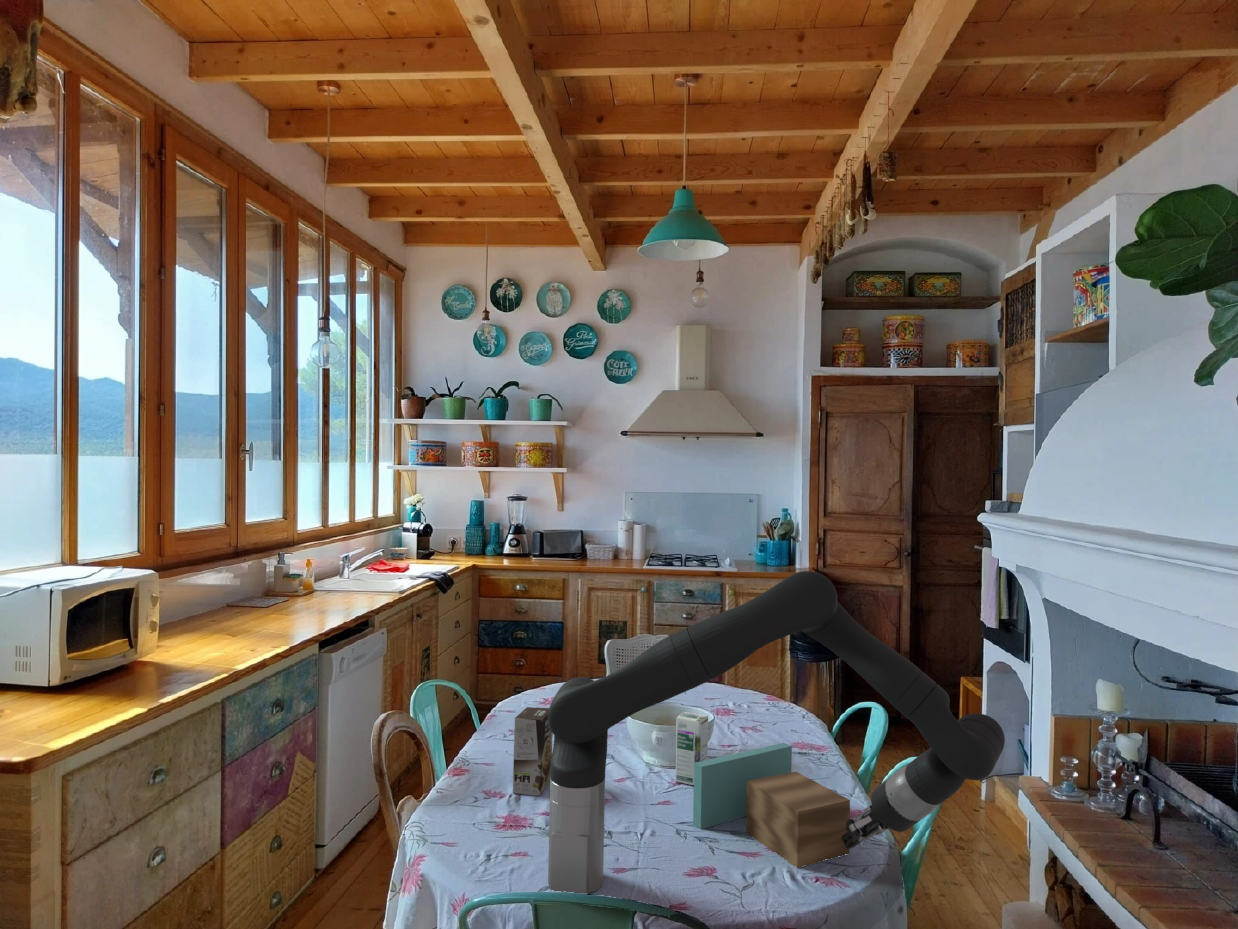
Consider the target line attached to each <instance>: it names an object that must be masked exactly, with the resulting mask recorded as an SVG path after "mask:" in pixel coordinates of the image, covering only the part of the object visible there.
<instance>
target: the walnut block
mask: <svg viewBox="0 0 1238 929" xmlns="http://www.w3.org/2000/svg"><path fill="white" fill-rule="evenodd" d="M850 814H851V799H849V798H847V797H845V796H843V795H841V794H839V793H838V792H835V791H833V790H832V789H830V788H827V787H826V786H825V785H822V784H820V783H819V782H816V781H815V780H813V779H811V778H809V777H807V776H805V775H804V774H801V773H800V772H798V771H793V772H792V771H791V773H786V774H781V775H776V776H771V777H766V778H760V779H755V780H750V781H747V808H746V817H745V818H746V819H745V825H746V826H745V833H746V834H748V836H750V837H751V838H753V839H754V840H755V841H757V842H759V843H760V844H761V845H763V846H764V847H766V846H767V847H768V848H767V847H766V848H767V849H768V850H770V849H771V850H770V851H772V852H773V853H774V852H776V853H777V854H778V856H779V855H780V856H781V857H780V856H779V857H780V858H782V857H783V858H784V859H783V858H782V859H783V860H785V859H786V860H787V861H788V862H787V861H786V860H785V861H786V862H787V863H789V864H790V863H791V864H790V865H792V866H793V865H794V866H793V867H795V866H796V867H797V868H796V867H795V868H796V869H800V868H803V867H802V866H804V865H808V866H811V865H810V864H812V865H814V863H815V864H818V863H817V862H819V861H823V860H825V859H831V858H834V859H836V858H835V857H838V856H842V855H845V854H849V855H850V849H847V848H846V846H845V845H844V843H843V841H842V838H841V837H842V836H843V835H844V834H845V833H847V832H848V831H847V830H846V822H847V821H848V819H851V817H850V816H851V815H850ZM776 853H775V854H776ZM777 854H776V855H777ZM842 857H843V856H842ZM838 858H839V857H838ZM831 860H832V859H831ZM823 862H824V861H823ZM819 863H820V862H819ZM799 867H800V868H799ZM804 867H805V866H804Z"/></svg>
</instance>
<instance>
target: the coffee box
mask: <svg viewBox="0 0 1238 929" xmlns="http://www.w3.org/2000/svg"><path fill="white" fill-rule="evenodd" d="M549 708H550V707H529V706H527V707H526V708H524V709H523V710H522V711H521V712H520V713H518V715H516V716H515V717H514V732H513V734H514V736H513V765H512V766H513V769H512V770H513V771H512V793H513V794H518V795H519V794H520V795H527V796H536V797H539V796H541V794H543V792H544V791H545V789H547V787H548V786H549V785H550V766H551V759H552V753H553V738H554V734H553V733H552V731H551V730H550V727H549V723H548V713H549Z"/></svg>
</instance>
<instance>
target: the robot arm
mask: <svg viewBox="0 0 1238 929" xmlns="http://www.w3.org/2000/svg"><path fill="white" fill-rule="evenodd" d="M799 632H802V633H803V634H805V635H807V636H809V637H810V638H811V639H814V640H815V641H816V642H817V643H820V644H821V645H823V646H824V647H826V648H827V649H828V650H830V651H831V652H833V653H834V654H835V655H836V656H837V657H839V658H840V659H842V661H843V662H845V663H846V664H847V665H848V666H849V667H850V668H852V669H853V671H855V672H856V673H857V674H858V675H859V676H860V677H861V678H863V680H865V681H866V683H868V684H869V685H870V686H871V687H872V688H873V689H874V690H875V691H876V692H878V694H879V695H880V696H882V697H883V699H885V700H886V701H887V702H888V703H890V705H892V706H893V707H894V708H895V709H896V710H898V712H899V713H900V714H902V716H904V717H905V718H906V719H908V720H909V721H910V722H911V723H912V724H914V725H915V727H916V728H917V730H918V732H920V734H921V736H922V738H923V739H924V740H925V741H926V743H927V745H929V748H928V749H927V750H925V751H924V752H922V753H920V755H918V756H916V757H915V758H913V760H912V761H911V762H909V763H908V764H907V765H904V766H903V767H901V768H899V769H898V770H896V771H895V772H894V773H893V774H892V775H890V776H889V777H887V779H885V780H884V781H883V782H881V783H880V784H879V785H877V786H876V787H875V788H874V789H873V791H872V792H871V795H870V796H871V797H870V801H871V805H869V806H867V807H865V809H863V812H862V813H861V814H860V815H859V816H857V817H856V818H850V819H848V821H847V822H846V830H847V831H848V832H847V833H845V834H844V835H843V836H842V837H841V838H842V841H843V843H844V845H845V846H846V848H847V849H849V850H850V849H853V848H855V847H856V846H858V845H860V844H861V843H862V842H863V841H864V840H868V839H871V838H873V837H874V836H879V835H881V834H882V833H884V832H885V831H886V830H891V831H894V832H898V833H901V832H902V833H903V832H906V831H908V830H909V829H911V828H912V827H914V826H915V825H916V824H918V823H919V822H920V821H921V820H923V819H924V818H927V816H929V815H931V814H932V813H933V812H934V811H935V810H936V809H937V808H938V807H939V806H940V805H941V804H942V803H944V802H945V801H947V800H948V799H950V798H951V797H952V796H954V795H955V794H956V793H957V792H958V791H959V790H960V789H961V787H962V786H963V785H964V783H965V781H966V780H970V781H982V780H984V779H986V778H987V777H988V776H989V775H990V774H991V773H992V772H993V770H994V768H995V767H996V764H997V762H998V760H999V758H1000V757H1001V755H1002V752H1003V750H1004V748H1005V742H1006V739H1005V738H1006V737H1005V733H1004V730H1003V728H1002V726H1001V725H1000V723H999V722H998V721H997V720H995V719H994V718H993V717H991V716H989V715H987V714H984V713H969V714H966V715H964V716H962V717H960V718H959V719H957V718H956V717H955V716H954V714H953V713H952V712H951V708H950V704H951V703H950V702H951V698H950V695H949V693H948V692H947V691H946V690H945V689H944V688H943V687H942V686H940V685H939V684H938V683H937V682H936V681H934V680H933V679H932V678H931V677H930V676H928V674H926V673H925V672H924V671H922V670H921V669H920V668H919V667H918V666H917V665H916V664H914V663H913V662H912V661H910V660H909V659H908V658H906V657H905V656H903V655H902V654H901V653H899V652H897V651H896V650H895V649H893V648H891V647H890V646H889V645H887V644H886V643H885V642H883V641H882V640H880V638H877V637H876V636H875V635H873V634H872V633H871V632H870V631H868V630H867V629H865V627H863V626H862V625H861V624H860V623H858V622H857V621H856V620H855V619H854V617H852V615H851V614H849V612H848V611H847V610H846V609H845V608H844V607H843V606H842V605H841V603H840V602H839V601H838V593H837V590H836V587H835V585H834V583H832V581H831V579H829V578H828V577H827V576H825V575H824V574H822V573H820V572H816V571H813V570H804V571H803V570H802V571H798V572H795V573H793V574H791V575H789V576H788V577H786V578H785V579H783V580H782V581H780V582H778V583H777V584H775V585H774V586H772V587H771V588H769V589H767V590H766V591H764V592H762V593H760V594H759V595H757V596H755V597H754V598H752V599H750V600H749V601H747V602H745V603H743V604H740V605H738V606H736V607H733V608H730V609H728V610H724V611H723V612H719V613H717V614H715V615H712V616H710V617H708V618H706V619H703V620H700V621H698V622H696V623H694V624H691V625H688V626H687V627H684V628H681V630H678V631H676V632H674V633H672V634H670V635H668V636H666V637H664V638H663V639H661V640H660V641H657V642H656V643H654V644H653V645H652V646H651V647H649V648H647V649H646V650H644V651H643V652H642V653H641V654H639V655H637V656H636V657H635V658H634V659H633V660H631V661H629V663H627V664H626V665H625V666H623V667H621V668H620V669H617V671H615V672H612V673H610V674H608V675H606V676H603V677H601V678H599V679H596V680H595V679H592V678H590V677H586V676H585V677H584V676H579V677H573V678H571V679H569V680H567V681H566V682H564V683H563V684H562V685H561V686H560V687H559V689H558V690H557V692H556V694H555V695H554V696H553V698H552V701H551V703H550V705H549V707H548V708H549V713H548V723H549V727H550V730H551V731H552V733H553V744H552V759H551V766H550V783H549V785H550V786H549V814H548V815H549V818H548V820H549V822H548V823H549V826H548V862H547V863H548V866H547V867H548V871H547V874H548V876H547V882H548V885H549V891H550V890H554V891H566V892H574V893H589V894H592V893H593V892H596V891H598V890H599V889H600V888H601V887H602V885H603V883H604V861H605V860H604V859H605V858H604V857H605V856H604V855H605V854H604V852H605V846H604V845H605V807H606V806H605V805H606V804H605V803H606V802H605V801H606V767H607V756H608V734H609V733H608V732H609V729H610V728H613V727H614V726H616V725H617V724H619V723H620V722H623V721H624V720H626V719H627V718H629V717H631V716H632V715H634V714H636V713H638V712H640V711H643V710H645V709H647V708H650V707H652V706H656V705H657V704H660V703H662V702H665V701H667V700H669V699H672V698H674V697H676V696H678V695H681V694H684V693H686V692H688V691H691V690H693V689H695V688H697V687H699V686H701V685H704V684H705V683H708V682H710V681H711V680H714V679H716V678H718V677H719V676H721V675H723V674H725V673H726V672H728V671H730V670H731V669H733V668H734V667H736V666H737V665H739V664H740V663H742V662H743V661H744V660H746V659H747V658H749V657H750V656H751V655H752V654H754V653H755V652H756V651H759V649H761V648H763V647H765V646H767V645H768V644H771V643H773V642H775V641H777V640H780V639H782V638H785V637H788V636H790V635H792V634H797V633H799Z"/></svg>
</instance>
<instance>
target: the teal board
mask: <svg viewBox="0 0 1238 929" xmlns="http://www.w3.org/2000/svg"><path fill="white" fill-rule="evenodd" d="M792 748H793V746H792V745H790V744H788V743H785V742H781V743H775V744H772V745H767V746H763V747H758V748H753V749H749V750H745V751H740V752H737V753H733V754H727V755H722V756H718V757H714V758H710V759H707V760H705V761H700V762H696V763H694V786H693V804H692V805H693V807H692V809H693V810H692V811H693V814H692V815H693V816H692V825H693V826H695V828H696V827H697V828H698V829H700V830H702V829H707V828H710V827H713V826H717V825H721V824H724V823H727V822H731V821H734V820H737V819H741V818H746V817H745V816H746V808H747V781H750V780H755V779H760V778H766V777H771V776H776V775H781V774H786V773H792V763H793V762H792V756H793V755H792V752H793V749H792Z"/></svg>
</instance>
